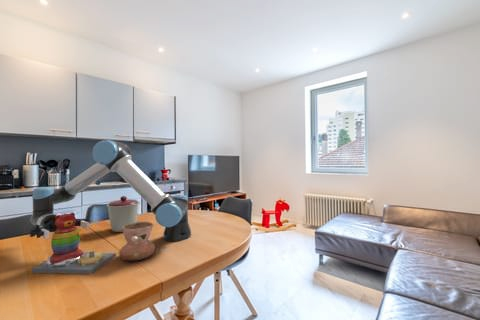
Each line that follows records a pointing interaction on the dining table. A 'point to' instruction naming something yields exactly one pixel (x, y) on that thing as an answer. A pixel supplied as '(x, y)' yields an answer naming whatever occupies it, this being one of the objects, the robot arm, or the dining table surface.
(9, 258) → the dining table surface
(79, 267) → the gear board
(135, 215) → the canister
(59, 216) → the stacking bear
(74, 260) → the gear
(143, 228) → the ceramic jug
